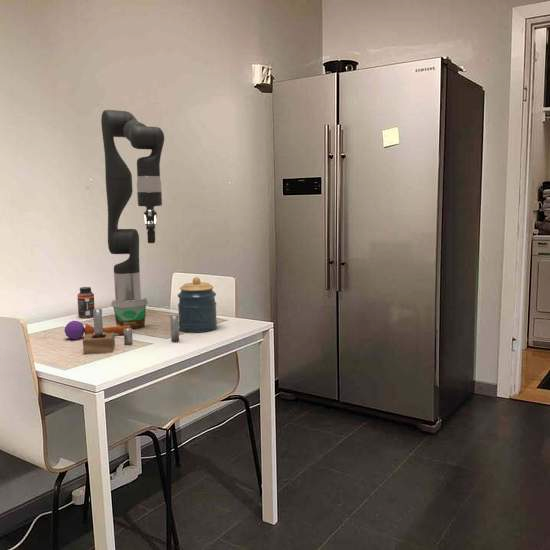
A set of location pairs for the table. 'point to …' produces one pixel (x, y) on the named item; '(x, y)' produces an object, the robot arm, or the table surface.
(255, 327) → the table surface
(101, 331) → the long pin
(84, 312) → the supplement bottle
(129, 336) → the short pin
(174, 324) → the medium pin
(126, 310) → the food container
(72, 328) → the kendama
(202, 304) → the canister
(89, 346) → the hole block
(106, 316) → the table surface
